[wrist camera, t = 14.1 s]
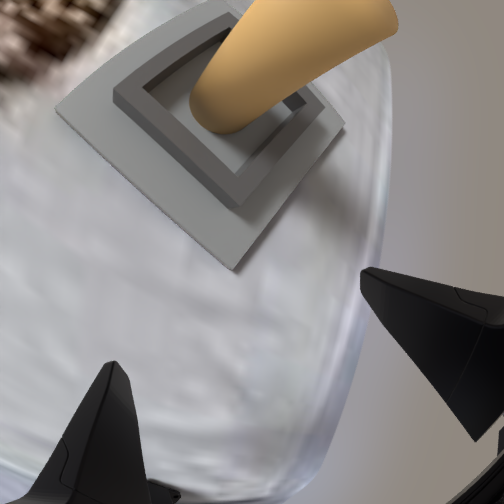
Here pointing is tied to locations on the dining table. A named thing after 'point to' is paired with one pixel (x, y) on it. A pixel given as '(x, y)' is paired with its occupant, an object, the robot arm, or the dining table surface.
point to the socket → (197, 134)
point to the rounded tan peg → (283, 55)
